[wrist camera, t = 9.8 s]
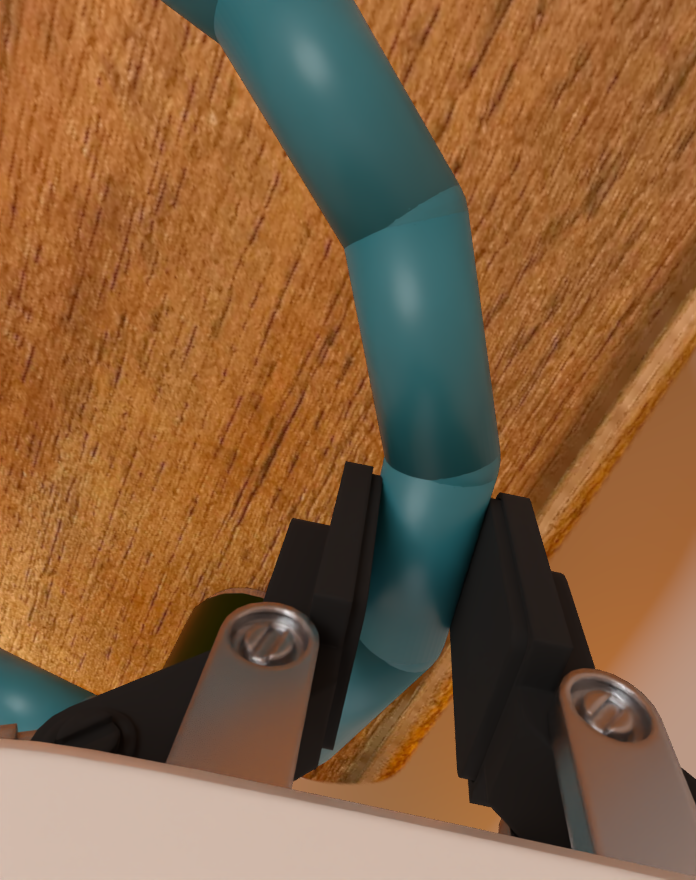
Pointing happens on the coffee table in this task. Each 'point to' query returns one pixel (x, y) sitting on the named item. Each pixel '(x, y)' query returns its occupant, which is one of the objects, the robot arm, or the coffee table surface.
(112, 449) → the coffee table surface
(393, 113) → the ring
